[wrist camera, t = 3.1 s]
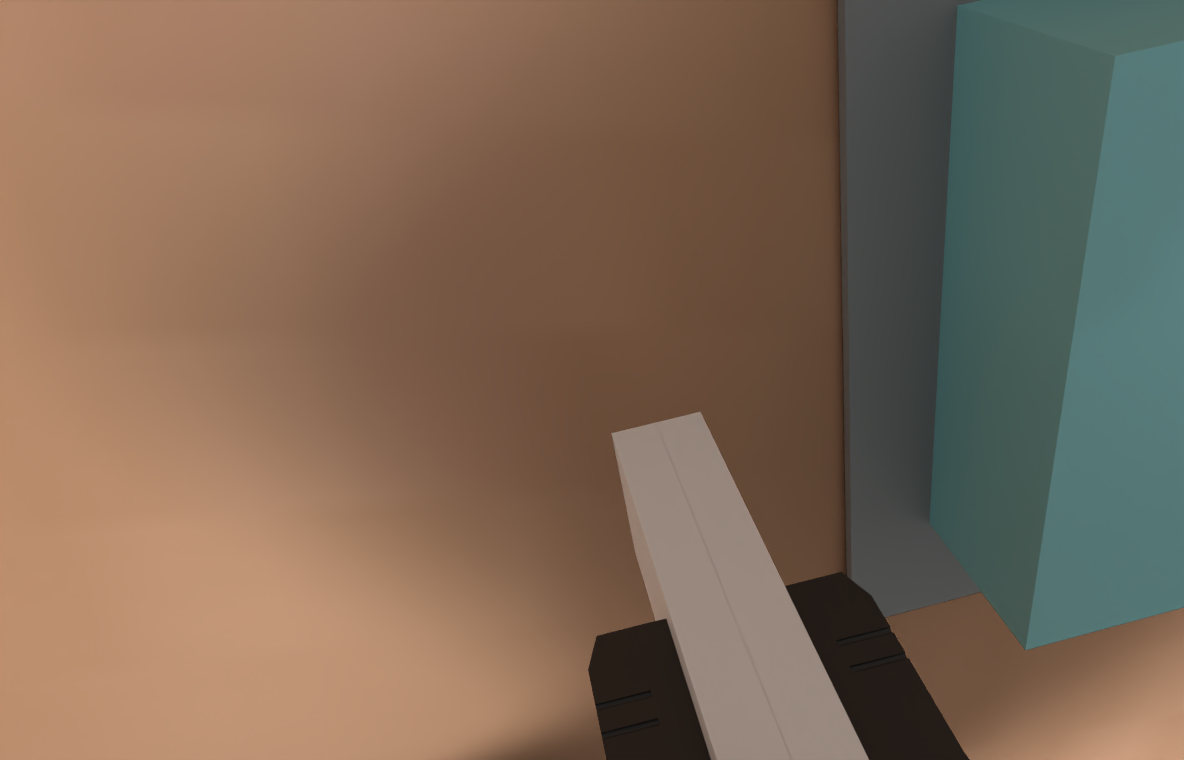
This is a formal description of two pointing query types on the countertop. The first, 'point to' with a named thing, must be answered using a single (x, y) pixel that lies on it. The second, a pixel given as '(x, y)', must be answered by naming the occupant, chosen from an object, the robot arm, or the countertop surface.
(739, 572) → the robot arm
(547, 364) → the countertop surface
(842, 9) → the board
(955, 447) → the t block
